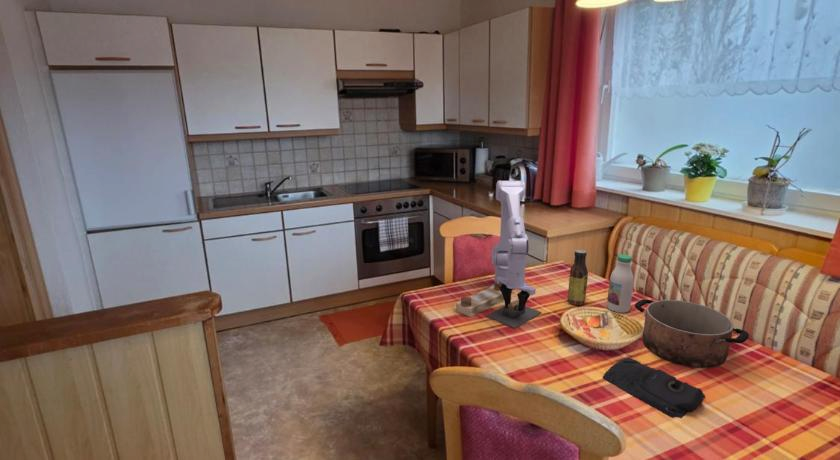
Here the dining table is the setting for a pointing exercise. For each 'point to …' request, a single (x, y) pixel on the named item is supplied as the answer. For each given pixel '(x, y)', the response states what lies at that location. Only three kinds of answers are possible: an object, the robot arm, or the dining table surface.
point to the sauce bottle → (578, 279)
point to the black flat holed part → (655, 387)
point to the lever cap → (512, 310)
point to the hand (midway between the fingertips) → (514, 307)
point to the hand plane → (480, 301)
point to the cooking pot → (688, 333)
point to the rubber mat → (517, 321)
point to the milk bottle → (621, 285)
